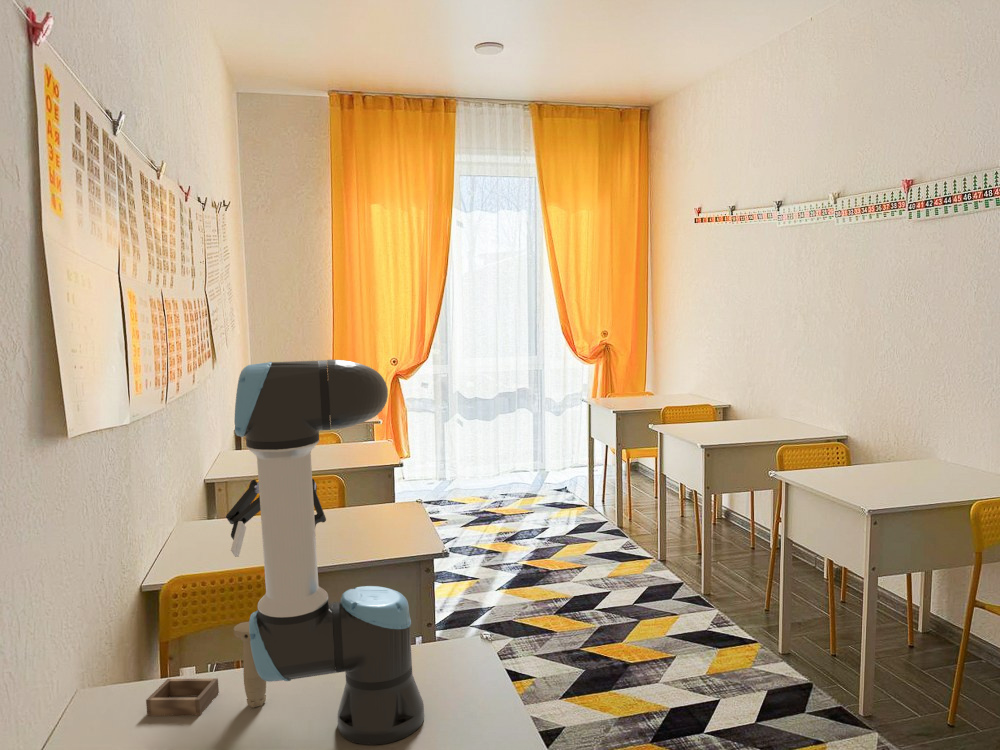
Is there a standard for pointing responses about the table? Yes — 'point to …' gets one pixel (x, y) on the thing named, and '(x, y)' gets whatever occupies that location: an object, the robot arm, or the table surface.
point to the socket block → (182, 706)
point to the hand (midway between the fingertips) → (268, 553)
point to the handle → (250, 669)
